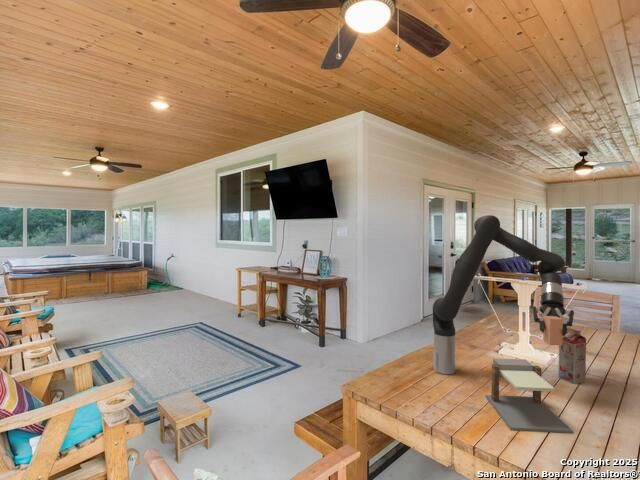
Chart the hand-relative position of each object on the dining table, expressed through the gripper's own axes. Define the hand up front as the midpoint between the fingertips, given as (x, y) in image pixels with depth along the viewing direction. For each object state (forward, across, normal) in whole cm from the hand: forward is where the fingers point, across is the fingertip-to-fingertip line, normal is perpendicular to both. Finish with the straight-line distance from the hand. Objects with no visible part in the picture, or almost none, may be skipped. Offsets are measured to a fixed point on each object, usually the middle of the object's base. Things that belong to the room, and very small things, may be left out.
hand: (553, 332), depth 131 cm
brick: (+2, 0, +4) cm, 5 cm away
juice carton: (+1, +8, +35) cm, 36 cm away
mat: (+30, -9, +6) cm, 32 cm away
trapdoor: (+22, -10, +1) cm, 24 cm away
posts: (+26, -12, +10) cm, 30 cm away
